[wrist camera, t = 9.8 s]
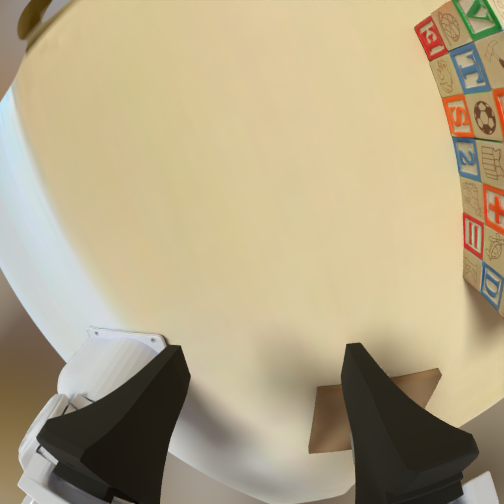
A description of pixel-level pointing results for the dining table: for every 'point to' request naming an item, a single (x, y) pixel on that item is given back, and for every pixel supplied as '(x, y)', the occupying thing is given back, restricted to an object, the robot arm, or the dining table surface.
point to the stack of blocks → (474, 127)
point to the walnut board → (335, 414)
